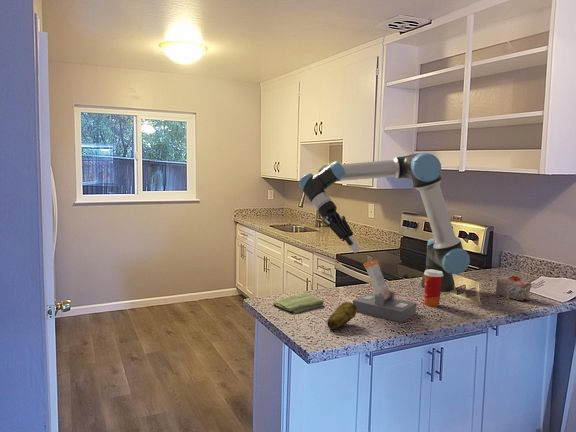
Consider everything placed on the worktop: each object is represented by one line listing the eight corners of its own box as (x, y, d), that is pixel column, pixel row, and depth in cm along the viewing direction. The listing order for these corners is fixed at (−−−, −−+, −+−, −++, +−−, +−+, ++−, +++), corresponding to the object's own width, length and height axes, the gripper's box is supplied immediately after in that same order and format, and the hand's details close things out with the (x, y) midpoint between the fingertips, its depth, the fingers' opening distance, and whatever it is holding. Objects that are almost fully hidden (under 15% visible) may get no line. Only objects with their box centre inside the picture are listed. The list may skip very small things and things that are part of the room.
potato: (318, 325, 161) (319, 302, 160) (348, 320, 167) (349, 298, 166) (331, 333, 153) (332, 310, 153) (362, 327, 159) (364, 305, 159)
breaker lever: (379, 303, 175) (363, 263, 178) (386, 300, 180) (370, 261, 183) (385, 301, 173) (369, 261, 176) (392, 298, 178) (377, 258, 181)
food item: (532, 300, 199) (534, 278, 197) (523, 303, 194) (525, 280, 193) (502, 292, 209) (504, 271, 208) (492, 295, 205) (494, 273, 204)
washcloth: (270, 306, 181) (271, 298, 181) (304, 299, 192) (304, 291, 192) (291, 315, 171) (292, 307, 171) (326, 307, 182) (326, 299, 182)
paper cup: (427, 300, 194) (429, 268, 192) (444, 305, 188) (447, 271, 187) (418, 304, 188) (420, 270, 187) (435, 308, 183) (437, 274, 181)
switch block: (352, 310, 178) (353, 291, 177) (369, 302, 189) (370, 284, 188) (400, 322, 166) (401, 302, 165) (415, 313, 177) (417, 294, 176)
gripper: (327, 210, 198) (359, 254, 190) (310, 212, 188) (343, 258, 179) (338, 199, 194) (371, 243, 186) (321, 200, 184) (355, 247, 175)
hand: (357, 250), depth 183 cm, fingers closed
